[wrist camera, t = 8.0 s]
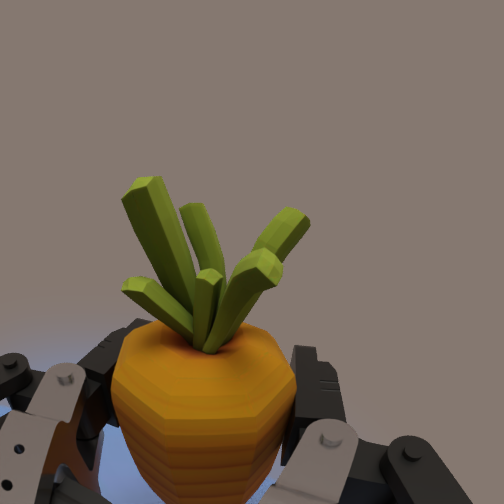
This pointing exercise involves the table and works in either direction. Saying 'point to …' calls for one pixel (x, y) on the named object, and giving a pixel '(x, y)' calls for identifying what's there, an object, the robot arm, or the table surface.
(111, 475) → the table surface
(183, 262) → the carrot
